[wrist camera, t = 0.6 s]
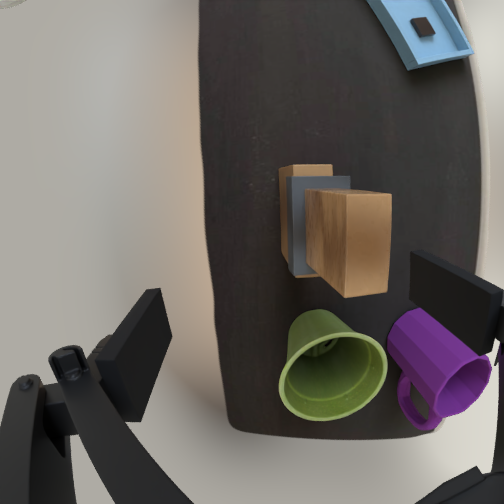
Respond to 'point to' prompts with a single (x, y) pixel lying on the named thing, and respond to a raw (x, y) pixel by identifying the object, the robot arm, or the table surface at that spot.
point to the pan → (407, 40)
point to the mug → (435, 368)
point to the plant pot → (329, 368)
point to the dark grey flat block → (422, 27)
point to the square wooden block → (283, 173)
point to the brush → (339, 233)
